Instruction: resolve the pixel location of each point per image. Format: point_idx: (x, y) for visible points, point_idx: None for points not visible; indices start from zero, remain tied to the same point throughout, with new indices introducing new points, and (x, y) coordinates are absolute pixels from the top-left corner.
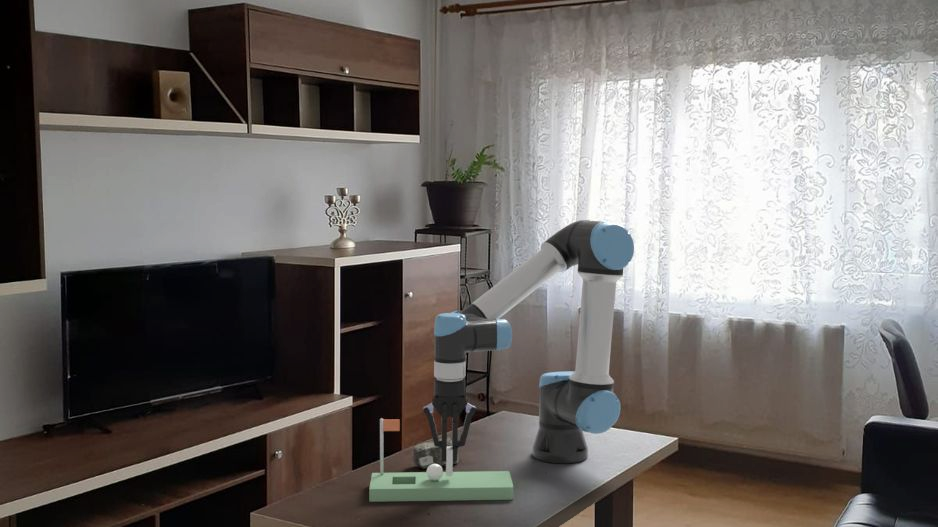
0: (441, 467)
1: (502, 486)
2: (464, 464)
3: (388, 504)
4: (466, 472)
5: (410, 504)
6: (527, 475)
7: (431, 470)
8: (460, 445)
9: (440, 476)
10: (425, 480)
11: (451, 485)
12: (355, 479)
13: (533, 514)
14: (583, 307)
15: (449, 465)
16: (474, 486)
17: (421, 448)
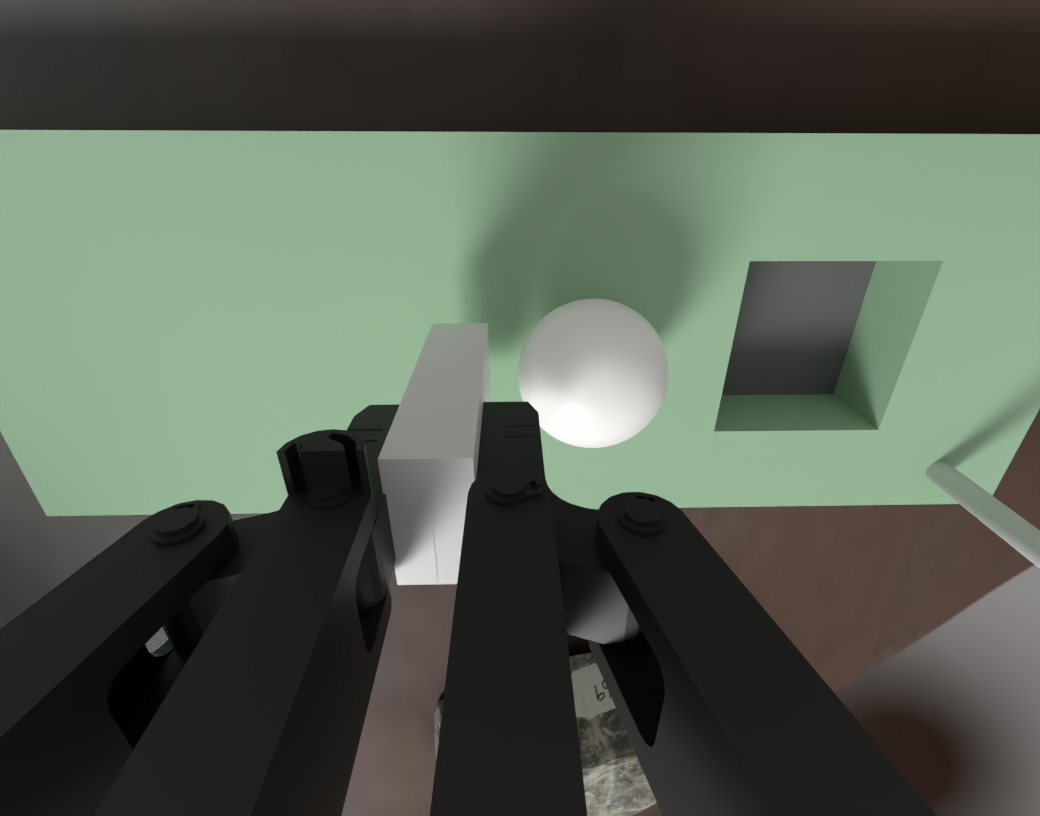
0: (533, 395)
1: None
2: (403, 695)
3: (954, 59)
4: None
5: (783, 48)
6: (34, 570)
7: (634, 330)
8: (242, 529)
9: (540, 320)
10: None
11: (443, 208)
12: (986, 534)
13: None
14: None
15: (450, 360)
16: (228, 168)
17: (636, 768)
